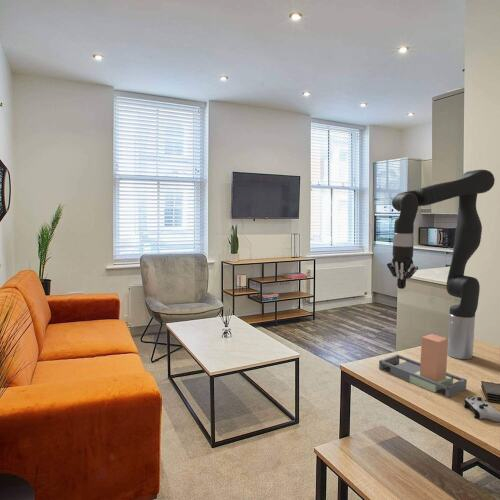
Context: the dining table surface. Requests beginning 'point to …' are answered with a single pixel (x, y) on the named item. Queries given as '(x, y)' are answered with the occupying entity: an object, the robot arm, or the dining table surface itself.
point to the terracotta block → (433, 357)
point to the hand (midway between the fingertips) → (401, 288)
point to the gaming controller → (482, 409)
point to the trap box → (412, 374)
